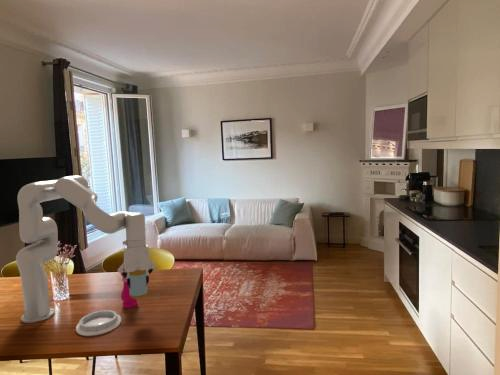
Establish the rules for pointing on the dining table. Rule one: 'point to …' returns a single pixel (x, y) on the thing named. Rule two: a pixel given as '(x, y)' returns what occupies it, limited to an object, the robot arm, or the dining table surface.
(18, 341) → the dining table surface
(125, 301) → the pepper mill
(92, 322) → the collar base
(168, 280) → the dining table surface
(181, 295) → the dining table surface
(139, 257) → the robot arm
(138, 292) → the bottle
